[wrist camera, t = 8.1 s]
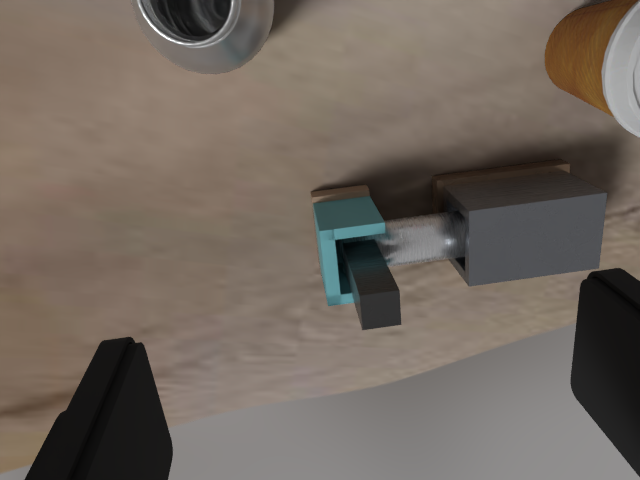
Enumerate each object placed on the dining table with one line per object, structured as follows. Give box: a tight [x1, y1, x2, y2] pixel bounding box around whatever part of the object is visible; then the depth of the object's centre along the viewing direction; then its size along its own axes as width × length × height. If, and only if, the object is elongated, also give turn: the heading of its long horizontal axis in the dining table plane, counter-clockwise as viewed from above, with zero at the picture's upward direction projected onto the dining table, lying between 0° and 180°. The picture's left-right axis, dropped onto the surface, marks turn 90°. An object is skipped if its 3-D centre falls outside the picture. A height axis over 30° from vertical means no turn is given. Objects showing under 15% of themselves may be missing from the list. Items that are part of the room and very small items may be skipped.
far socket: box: [311, 185, 386, 306], centre depth 41 cm, size 5×7×8 cm, turn 6°
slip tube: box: [338, 211, 465, 330], centre depth 37 cm, size 12×4×11 cm, turn 96°
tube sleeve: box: [432, 159, 607, 286], centre depth 42 cm, size 11×7×8 cm, turn 96°
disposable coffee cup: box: [545, 0, 640, 137], centre depth 35 cm, size 10×10×12 cm
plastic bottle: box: [131, 0, 274, 74], centre depth 28 cm, size 6×7×20 cm
